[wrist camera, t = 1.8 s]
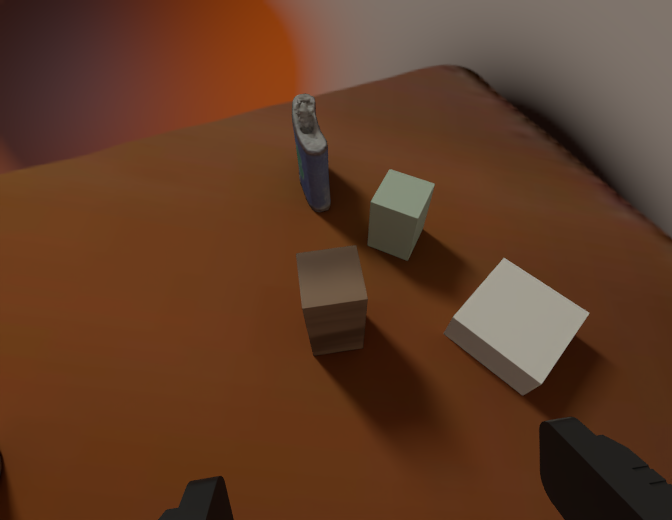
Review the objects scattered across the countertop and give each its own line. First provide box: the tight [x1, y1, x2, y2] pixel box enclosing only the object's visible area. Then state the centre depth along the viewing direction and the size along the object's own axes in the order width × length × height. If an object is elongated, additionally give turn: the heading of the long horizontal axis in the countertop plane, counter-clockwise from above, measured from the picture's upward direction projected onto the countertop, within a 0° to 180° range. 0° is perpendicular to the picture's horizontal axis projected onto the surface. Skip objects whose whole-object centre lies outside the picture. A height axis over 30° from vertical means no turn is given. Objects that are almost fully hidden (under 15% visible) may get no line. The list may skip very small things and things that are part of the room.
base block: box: [444, 258, 589, 396], centre depth 34 cm, size 8×8×4 cm
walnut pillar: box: [296, 245, 368, 356], centre depth 32 cm, size 4×4×10 cm
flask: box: [292, 94, 331, 212], centre depth 41 cm, size 9×3×11 cm, turn 12°
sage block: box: [368, 169, 435, 261], centre depth 38 cm, size 4×4×7 cm
